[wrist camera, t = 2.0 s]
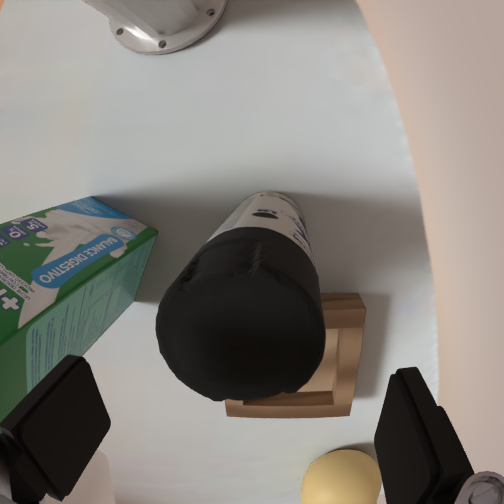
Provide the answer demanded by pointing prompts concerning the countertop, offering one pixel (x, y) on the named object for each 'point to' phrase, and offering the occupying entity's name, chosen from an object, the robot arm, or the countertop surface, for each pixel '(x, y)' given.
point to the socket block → (321, 369)
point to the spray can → (246, 307)
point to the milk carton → (63, 287)
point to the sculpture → (342, 479)
